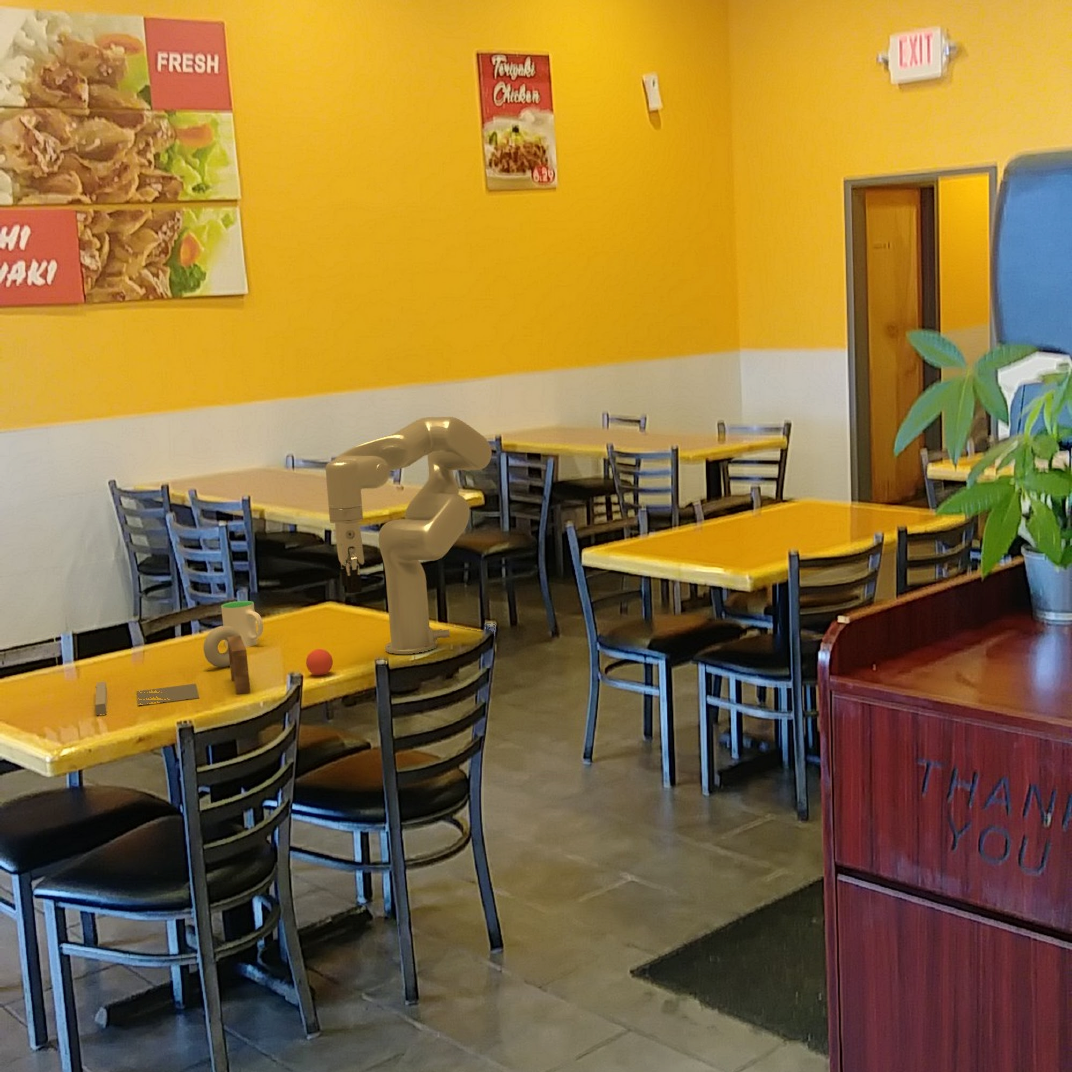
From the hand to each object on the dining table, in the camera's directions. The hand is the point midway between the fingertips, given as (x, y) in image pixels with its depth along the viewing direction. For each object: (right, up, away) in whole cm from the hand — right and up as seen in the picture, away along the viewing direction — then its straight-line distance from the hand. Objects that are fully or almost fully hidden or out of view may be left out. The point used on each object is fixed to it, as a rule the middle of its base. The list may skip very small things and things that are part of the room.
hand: (351, 588), depth 322 cm
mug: (-31, -16, +36) cm, 50 cm away
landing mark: (-40, -23, -9) cm, 47 cm away
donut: (-32, -19, +14) cm, 40 cm away
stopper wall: (-53, -25, -13) cm, 60 cm away
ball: (-7, -17, 0) cm, 18 cm away
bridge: (-24, -22, -5) cm, 33 cm away
